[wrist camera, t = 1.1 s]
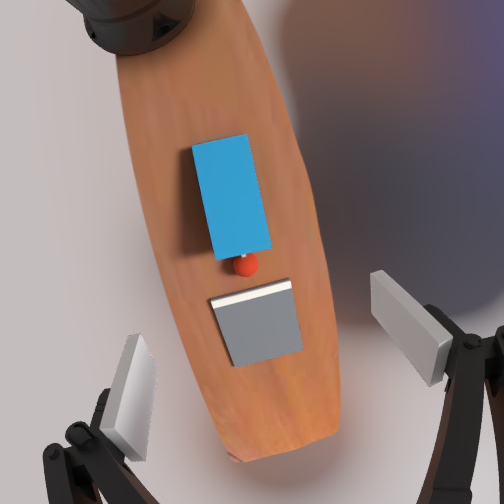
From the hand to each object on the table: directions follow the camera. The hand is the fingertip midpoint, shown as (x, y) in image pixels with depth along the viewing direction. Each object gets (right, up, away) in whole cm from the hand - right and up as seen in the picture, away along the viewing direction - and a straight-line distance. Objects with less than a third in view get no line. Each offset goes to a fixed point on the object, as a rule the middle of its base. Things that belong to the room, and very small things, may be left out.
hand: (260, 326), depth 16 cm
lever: (-3, +10, +25) cm, 27 cm away
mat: (+1, -8, +31) cm, 32 cm away
